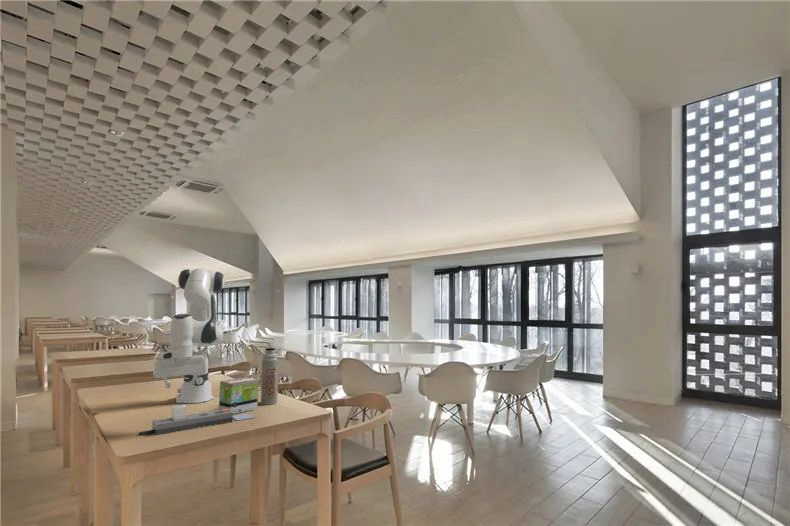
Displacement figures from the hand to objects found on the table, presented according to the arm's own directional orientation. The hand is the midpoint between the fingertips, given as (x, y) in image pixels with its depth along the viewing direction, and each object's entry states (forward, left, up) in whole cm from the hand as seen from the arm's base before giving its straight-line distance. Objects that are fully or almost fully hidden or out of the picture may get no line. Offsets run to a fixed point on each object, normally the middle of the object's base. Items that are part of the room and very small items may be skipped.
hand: (180, 386), depth 189 cm
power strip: (0, +3, -17) cm, 17 cm away
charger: (0, 0, -15) cm, 15 cm away
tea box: (-14, +30, -18) cm, 38 cm away
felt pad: (0, +27, -17) cm, 32 cm away
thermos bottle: (-20, +48, -17) cm, 55 cm away
